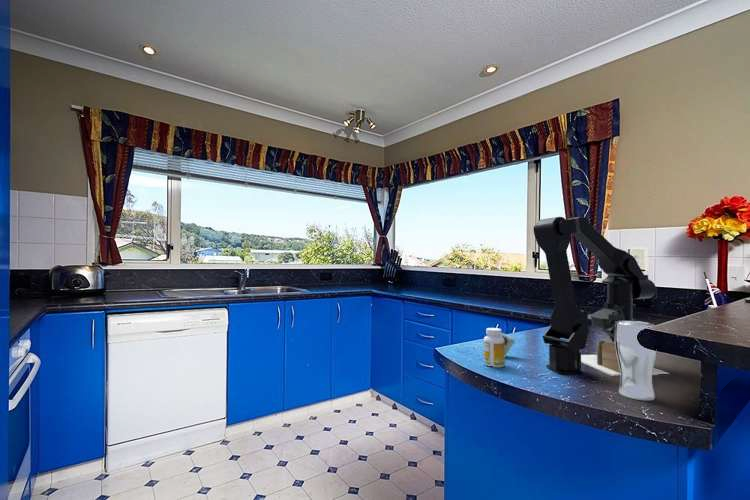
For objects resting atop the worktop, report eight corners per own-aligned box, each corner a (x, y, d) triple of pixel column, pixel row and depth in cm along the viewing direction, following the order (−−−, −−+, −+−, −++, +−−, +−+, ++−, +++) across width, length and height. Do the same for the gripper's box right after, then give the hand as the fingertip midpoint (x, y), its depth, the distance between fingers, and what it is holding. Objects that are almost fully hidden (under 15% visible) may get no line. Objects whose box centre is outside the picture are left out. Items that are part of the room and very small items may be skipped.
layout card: (612, 375, 86) (612, 373, 86) (568, 356, 104) (568, 354, 104) (668, 374, 87) (668, 372, 87) (615, 355, 105) (615, 354, 105)
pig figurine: (514, 354, 106) (514, 332, 107) (518, 358, 102) (517, 334, 103) (487, 353, 107) (486, 331, 108) (489, 357, 103) (489, 334, 104)
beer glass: (608, 389, 77) (606, 320, 77) (638, 388, 77) (635, 320, 78) (634, 402, 70) (632, 326, 70) (667, 401, 70) (664, 325, 71)
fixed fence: (627, 378, 84) (626, 350, 84) (595, 365, 95) (595, 340, 95) (634, 378, 84) (633, 350, 84) (602, 365, 95) (601, 340, 95)
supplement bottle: (506, 364, 96) (506, 328, 97) (502, 369, 92) (501, 331, 92) (487, 361, 99) (486, 326, 100) (481, 365, 95) (481, 329, 95)
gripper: (569, 296, 104) (568, 349, 104) (632, 306, 86) (632, 370, 86) (597, 295, 107) (597, 346, 107) (664, 304, 90) (663, 365, 90)
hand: (619, 355), depth 98 cm, fingers closed
